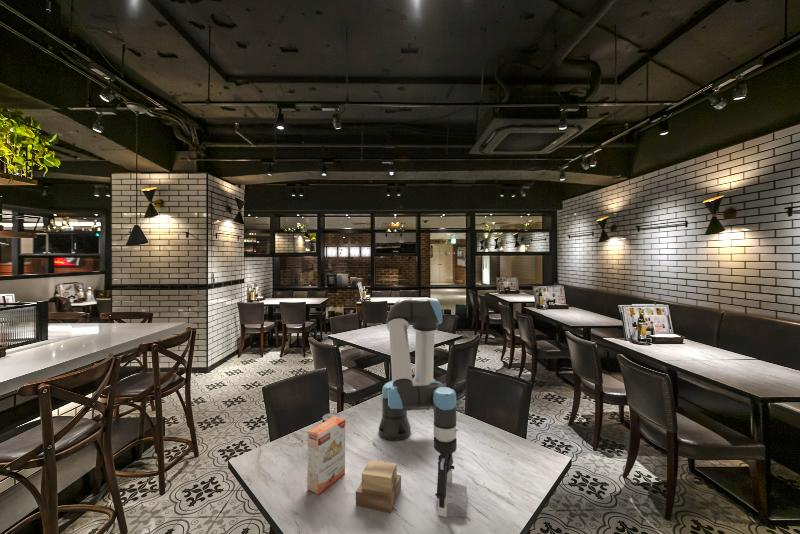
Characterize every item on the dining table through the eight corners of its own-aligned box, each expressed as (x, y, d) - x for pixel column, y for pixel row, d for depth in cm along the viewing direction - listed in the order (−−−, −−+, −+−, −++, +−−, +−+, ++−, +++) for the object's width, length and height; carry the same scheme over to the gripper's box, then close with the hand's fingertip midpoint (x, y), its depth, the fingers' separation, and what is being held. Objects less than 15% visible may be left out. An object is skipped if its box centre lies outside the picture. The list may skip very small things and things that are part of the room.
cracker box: (319, 496, 112) (318, 435, 111) (306, 489, 115) (306, 430, 115) (346, 473, 123) (345, 418, 123) (334, 468, 127) (334, 414, 126)
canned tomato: (343, 437, 150) (342, 413, 150) (336, 446, 142) (336, 421, 142) (326, 435, 151) (326, 412, 151) (319, 445, 143) (319, 420, 143)
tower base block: (369, 483, 119) (369, 469, 118) (401, 489, 115) (400, 475, 115) (355, 506, 107) (355, 491, 107) (390, 514, 104) (390, 498, 104)
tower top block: (369, 473, 116) (369, 459, 116) (396, 477, 114) (396, 463, 114) (361, 488, 108) (361, 473, 108) (390, 493, 106) (390, 478, 106)
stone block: (437, 520, 103) (469, 518, 101) (434, 505, 103) (465, 502, 101) (440, 496, 115) (468, 493, 113) (437, 482, 115) (465, 479, 113)
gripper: (451, 459, 96) (451, 532, 96) (460, 421, 119) (461, 480, 119) (426, 455, 98) (426, 526, 98) (440, 418, 121) (440, 476, 121)
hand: (445, 501), depth 108 cm, fingers open, 12 cm apart
